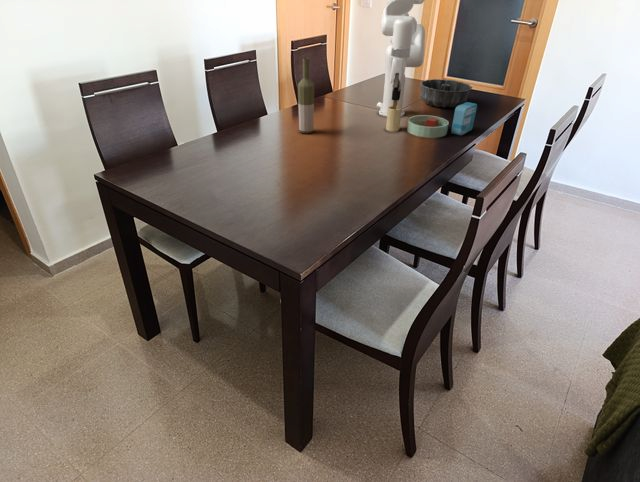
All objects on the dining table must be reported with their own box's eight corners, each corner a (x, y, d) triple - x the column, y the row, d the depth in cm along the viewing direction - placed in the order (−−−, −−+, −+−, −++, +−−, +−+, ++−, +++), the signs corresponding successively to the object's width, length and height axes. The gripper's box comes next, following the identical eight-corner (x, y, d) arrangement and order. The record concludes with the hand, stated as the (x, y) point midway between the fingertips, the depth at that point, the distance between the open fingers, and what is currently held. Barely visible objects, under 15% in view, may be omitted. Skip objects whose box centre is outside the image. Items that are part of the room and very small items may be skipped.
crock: (383, 130, 190) (385, 107, 185) (390, 127, 193) (393, 105, 188) (393, 133, 187) (396, 110, 181) (401, 130, 190) (404, 107, 185)
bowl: (399, 132, 188) (400, 120, 186) (420, 123, 199) (422, 112, 196) (433, 141, 178) (435, 130, 176) (454, 132, 189) (456, 121, 186)
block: (433, 130, 189) (435, 121, 187) (425, 128, 191) (426, 119, 189) (437, 127, 192) (438, 119, 190) (428, 126, 194) (429, 117, 192)
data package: (460, 137, 184) (465, 108, 177) (450, 134, 186) (455, 106, 180) (472, 130, 191) (477, 103, 185) (462, 128, 194) (468, 101, 187)
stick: (390, 124, 189) (394, 86, 180) (391, 123, 190) (395, 86, 181) (394, 124, 188) (398, 87, 179) (395, 123, 190) (399, 86, 181)
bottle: (317, 131, 187) (318, 58, 171) (306, 135, 183) (305, 60, 166) (306, 128, 191) (305, 56, 175) (294, 131, 187) (293, 58, 170)
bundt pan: (474, 102, 231) (478, 83, 226) (459, 114, 212) (463, 93, 207) (427, 95, 243) (430, 76, 237) (409, 105, 224) (412, 85, 219)
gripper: (393, 49, 180) (389, 93, 190) (388, 56, 167) (384, 103, 178) (411, 50, 178) (406, 95, 189) (408, 57, 166) (402, 105, 176)
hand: (395, 99), depth 183 cm, fingers closed on stick, 1 cm apart
